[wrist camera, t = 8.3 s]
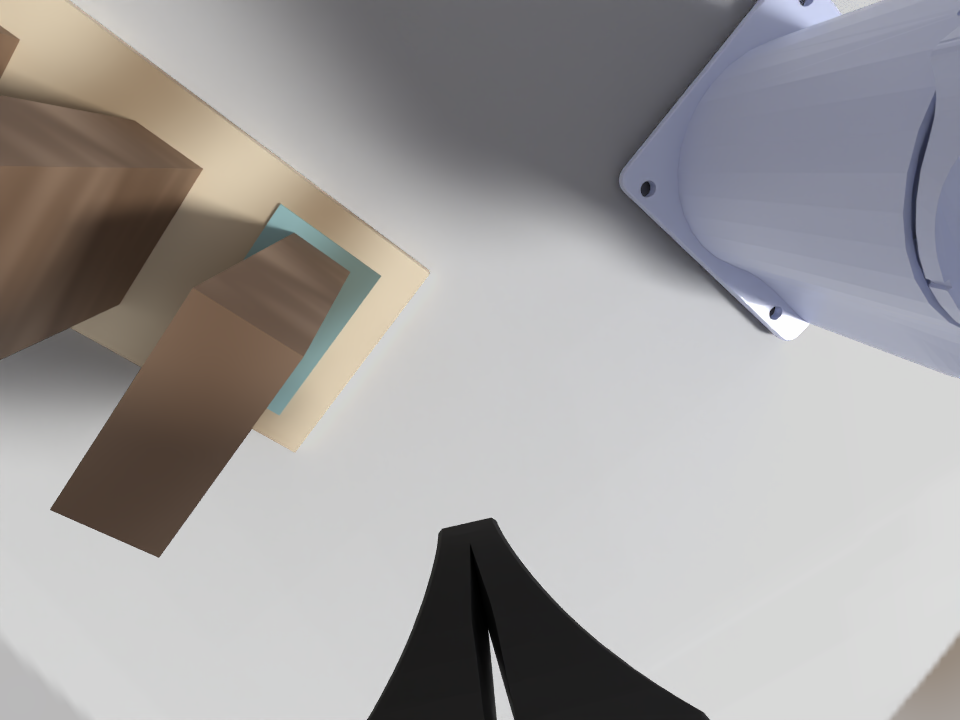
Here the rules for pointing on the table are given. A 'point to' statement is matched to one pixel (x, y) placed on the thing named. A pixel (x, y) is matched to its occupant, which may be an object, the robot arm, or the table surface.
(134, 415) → the domino
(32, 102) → the domino
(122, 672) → the table surface
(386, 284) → the board
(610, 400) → the table surface
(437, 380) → the table surface
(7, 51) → the domino
